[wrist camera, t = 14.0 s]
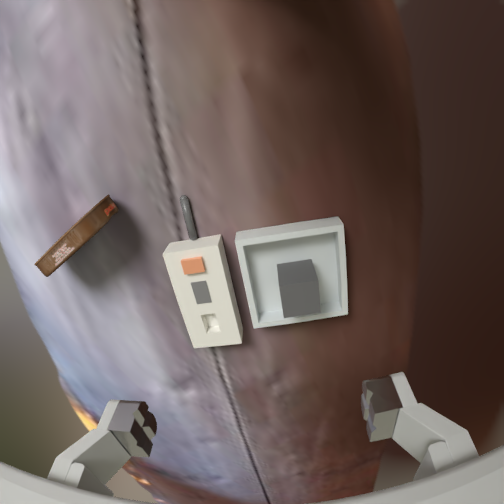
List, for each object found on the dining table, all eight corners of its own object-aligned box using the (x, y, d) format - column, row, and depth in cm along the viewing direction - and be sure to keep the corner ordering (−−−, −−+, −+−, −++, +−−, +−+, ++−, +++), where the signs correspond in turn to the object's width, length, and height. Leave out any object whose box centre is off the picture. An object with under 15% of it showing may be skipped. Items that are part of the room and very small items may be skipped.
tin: (117, 186, 39) (87, 205, 32) (131, 205, 40) (104, 228, 33) (53, 244, 43) (23, 269, 35) (65, 260, 44) (37, 287, 36)
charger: (276, 259, 42) (278, 286, 36) (310, 254, 42) (318, 280, 35) (280, 288, 44) (283, 318, 38) (313, 283, 43) (321, 312, 37)
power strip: (158, 199, 40) (147, 209, 36) (211, 189, 39) (205, 197, 35) (197, 333, 48) (193, 350, 44) (243, 328, 47) (241, 346, 44)
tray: (236, 231, 41) (234, 240, 39) (338, 216, 40) (343, 224, 37) (254, 315, 46) (253, 328, 44) (343, 302, 45) (347, 314, 43)
